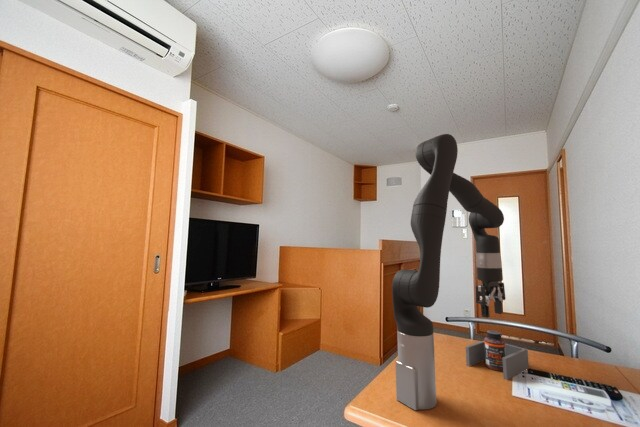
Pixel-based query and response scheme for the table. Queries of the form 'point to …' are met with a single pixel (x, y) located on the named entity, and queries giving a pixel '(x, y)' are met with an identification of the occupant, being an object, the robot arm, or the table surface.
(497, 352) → the supplement bottle
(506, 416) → the table surface
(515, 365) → the grey u-shaped bracket
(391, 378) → the table surface
